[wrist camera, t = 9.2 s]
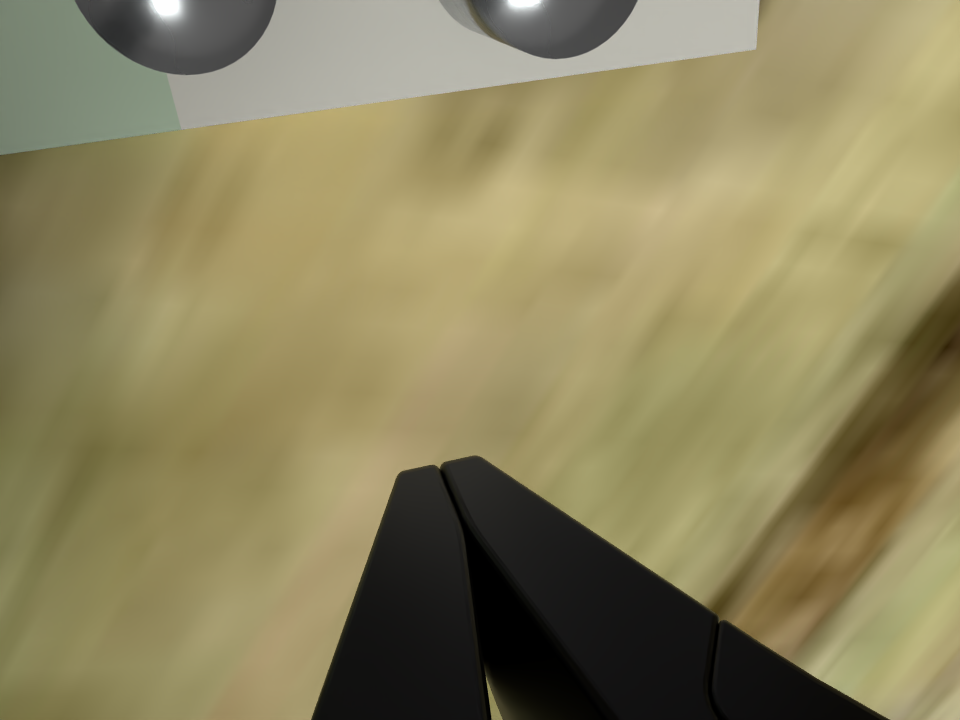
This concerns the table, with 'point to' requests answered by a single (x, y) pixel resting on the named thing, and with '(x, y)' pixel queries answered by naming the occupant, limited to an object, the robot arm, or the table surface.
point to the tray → (306, 64)
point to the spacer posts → (250, 5)
